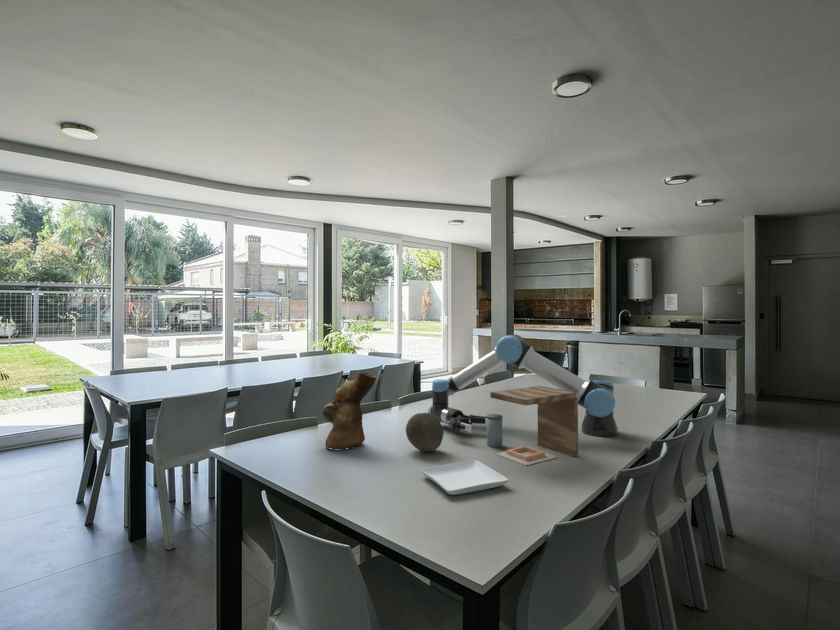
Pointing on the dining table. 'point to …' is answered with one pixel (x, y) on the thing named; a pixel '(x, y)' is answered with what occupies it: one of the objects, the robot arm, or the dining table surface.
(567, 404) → the shelf
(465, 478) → the salad plate
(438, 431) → the cantaloupe
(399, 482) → the dining table surface
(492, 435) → the canister
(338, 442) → the ceramic vessel
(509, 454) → the seat collar
